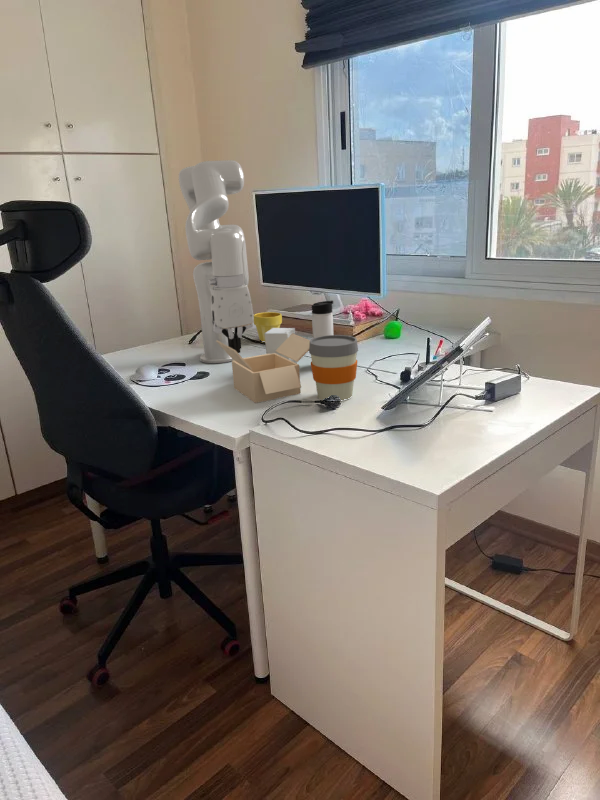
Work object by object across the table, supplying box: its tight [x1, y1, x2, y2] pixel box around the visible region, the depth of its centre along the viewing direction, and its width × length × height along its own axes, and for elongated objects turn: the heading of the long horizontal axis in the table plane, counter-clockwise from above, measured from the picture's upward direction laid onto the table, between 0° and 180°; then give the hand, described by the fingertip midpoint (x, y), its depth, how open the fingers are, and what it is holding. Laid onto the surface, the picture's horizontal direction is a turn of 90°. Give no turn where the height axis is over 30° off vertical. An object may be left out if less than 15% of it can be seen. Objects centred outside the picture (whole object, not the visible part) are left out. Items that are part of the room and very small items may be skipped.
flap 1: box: [216, 340, 252, 370], centre depth 158 cm, size 14×7×1 cm
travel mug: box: [311, 300, 334, 339], centre depth 183 cm, size 6×7×20 cm
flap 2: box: [276, 333, 311, 363], centre depth 166 cm, size 14×7×1 cm
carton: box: [231, 353, 302, 404], centre depth 164 cm, size 23×13×8 cm, turn 27°
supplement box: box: [264, 327, 298, 364], centre depth 181 cm, size 7×7×13 cm
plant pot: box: [253, 311, 283, 341], centre depth 220 cm, size 10×10×10 cm
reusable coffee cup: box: [308, 334, 359, 401], centre depth 156 cm, size 13×13×15 cm
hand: (235, 352), depth 158 cm, fingers closed
